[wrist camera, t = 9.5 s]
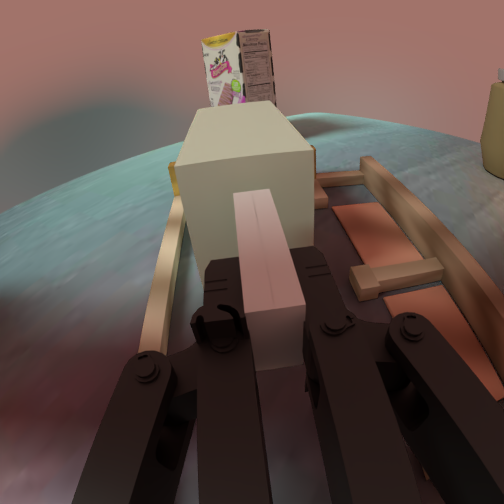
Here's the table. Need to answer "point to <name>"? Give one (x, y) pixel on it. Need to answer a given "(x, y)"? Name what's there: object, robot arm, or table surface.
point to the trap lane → (378, 269)
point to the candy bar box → (239, 67)
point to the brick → (243, 176)
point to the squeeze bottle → (494, 130)
